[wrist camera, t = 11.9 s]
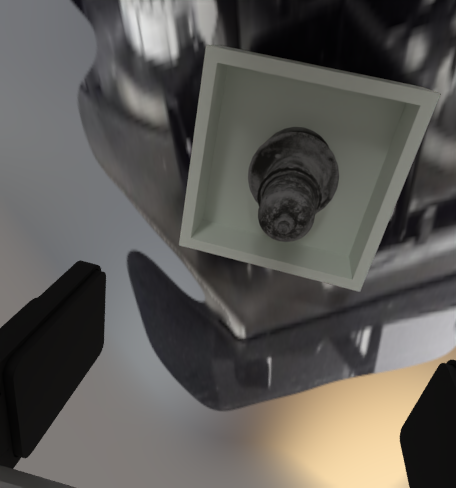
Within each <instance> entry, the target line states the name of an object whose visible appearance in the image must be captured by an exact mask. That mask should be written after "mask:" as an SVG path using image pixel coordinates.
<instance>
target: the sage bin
mask: <svg viewBox="0 0 456 488" xmlns="http://www.w3.org/2000/svg"><path fill="white" fill-rule="evenodd" d="M440 95H441V94H440V93H438V92H435V91H432V90H429V89H427V88H424V87H420V86H415V85H411V84H406V83H401V82H396V81H391V80H386V79H382V78H377V77H372V76H367V75H362V74H357V73H352V72H348V71H343V70H338V69H333V68H328V67H323V66H318V65H314V64H309V63H304V62H299V61H294V60H289V59H285V58H280V57H275V56H270V55H265V54H260V53H255V52H251V51H246V50H241V49H236V48H231V47H226V46H219V45H206V50H205V57H204V65H203V72H202V79H201V87H200V94H199V101H198V109H197V116H196V124H195V131H194V138H193V146H192V153H191V160H190V168H189V175H188V183H187V190H186V197H185V205H184V212H183V220H182V227H181V234H180V242H179V245H180V246H184V247H188V248H192V249H196V250H200V251H203V252H207V253H211V254H215V255H219V256H223V257H227V258H231V259H234V260H238V261H242V262H246V263H250V264H254V265H258V266H262V267H265V268H269V269H273V270H277V271H281V272H285V273H289V274H293V275H297V276H300V277H304V278H308V279H312V280H316V281H320V282H324V283H328V284H331V285H335V286H339V287H343V288H347V289H351V290H355V291H359V292H360V291H361V288H362V286H363V283H364V281H365V278H366V276H367V273H368V271H369V268H370V266H371V264H372V261H373V259H374V256H375V254H376V251H377V249H378V246H379V244H380V242H381V239H382V237H383V234H384V232H385V229H386V227H387V224H388V222H389V220H390V217H391V215H392V212H393V210H394V207H395V205H396V202H397V200H398V198H399V195H400V193H401V190H402V188H403V185H404V183H405V180H406V178H407V176H408V173H409V171H410V168H411V166H412V163H413V161H414V158H415V156H416V153H417V151H418V149H419V146H420V144H421V141H422V139H423V136H424V134H425V131H426V129H427V127H428V124H429V122H430V119H431V117H432V114H433V112H434V109H435V107H436V105H437V102H438V100H439V97H440ZM291 127H303V128H307V129H310V130H312V131H314V132H316V133H317V134H319V135H320V136H321V137H322V138H323V139H324V140H325V142H326V143H327V144H328V146H329V149H330V150H331V151H332V152H333V154H334V156H335V159H336V161H337V164H338V169H339V181H338V187H337V190H336V192H335V194H334V196H333V198H332V200H331V201H330V202H329V203H328V204H327V206H326V207H325V208H324V209H322V210H321V211H319V212H318V213H316V214H315V219H314V223H313V226H312V228H311V229H310V231H309V232H308V233H307V234H306V235H305V236H304V237H302V238H301V239H299V240H296V241H292V242H281V241H277V240H274V239H272V238H270V237H269V236H267V235H266V234H265V232H264V231H263V230H262V228H261V226H260V224H259V220H258V209H259V205H258V203H257V202H256V201H255V199H254V197H253V195H252V193H251V191H250V188H249V183H248V169H249V165H250V163H251V160H252V157H253V155H254V154H255V153H256V151H257V150H258V148H259V147H260V146H261V145H262V144H263V143H265V142H266V141H267V140H268V139H269V138H270V137H271V136H273V135H274V134H275V133H277V132H279V131H281V130H283V129H285V128H291Z"/></svg>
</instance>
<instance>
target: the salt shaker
mask: <svg viewBox="0 0 456 488" xmlns="http://www.w3.org/2000/svg"><path fill="white" fill-rule="evenodd" d="M338 181H339V169H338V164H337V161H336V159H335V156H334V154H333V152H332V151H331V150H330V149H329V146H328V144H327V143H326V142H325V140H324V139H323V138H322V137H321V136H320V135H319V134H317V133H316V132H314V131H312V130H310V129H307V128H303V127H291V128H285V129H283V130H281V131H279V132H277V133H275V134H274V135H273V136H271V137H270V138H269V139H268V140H267V141H266V142H265V143H263V144H262V145H261V146H260V147H259V148H258V150H257V151H256V153H255V154H254V155H253V157H252V160H251V163H250V165H249V169H248V183H249V188H250V191H251V193H252V195H253V197H254V199H255V201H256V202H257V203H258V205H259V209H258V220H259V224H260V226H261V228H262V230H263V231H264V232H265V234H266V235H267V236H269V237H270V238H272V239H274V240H277V241H281V242H292V241H296V240H299V239H301V238H302V237H304V236H305V235H306V234H307V233H308V232H309V231H310V229H311V228H312V226H313V223H314V219H315V214H316V213H318V212H319V211H321V210H322V209H324V208H325V207H326V206H327V204H328V203H329V202H330V201H331V200H332V198H333V196H334V194H335V192H336V190H337V187H338Z"/></svg>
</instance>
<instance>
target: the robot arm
mask: <svg viewBox="0 0 456 488" xmlns="http://www.w3.org/2000/svg"><path fill="white" fill-rule="evenodd" d="M105 288H106V274H105V272H101V268H100V266H98V265H95V264H92V263H88V262H84V261H78V262H76V263H75V264H74V265H73V266H72V267H71V268H70V269H69V270H68V271H67V272H65V273H64V274H63V275H62V276H61V277H60V278H59V279H58V280H57V281H56V282H55V283H54V284H52V285H51V286H50V287H49V288H48V289H47V290H46V291H45V292H44V293H43V294H42V295H40V296H39V297H38V298H34V299H33V300H31V301H30V302H29V303H28V304H27V305H25V306H24V307H23V308H22V309H21V310H20V311H19V312H18V313H17V314H15V315H14V316H13V317H12V318H11V319H10V320H9V321H8V322H7V323H6V324H4V325H3V326H2V327H1V328H0V488H75V487H71V486H69V485H65V484H62V483H59V482H55V481H51V480H48V479H45V478H42V477H38V476H35V475H32V474H28V473H25V472H21V471H18V470H15V469H13V468H14V467H15V465H16V464H17V463H18V461H19V460H20V458H21V457H22V458H27V457H28V456H29V455H30V454H31V453H32V451H33V450H34V449H35V447H36V446H37V444H38V443H39V441H40V440H41V439H42V437H43V435H44V434H45V433H46V431H47V430H48V428H49V427H50V426H51V424H52V423H53V421H54V420H55V418H56V417H57V415H58V414H59V412H60V411H61V410H62V408H63V407H64V405H65V404H66V402H67V401H68V399H69V398H70V396H71V395H72V394H73V392H74V391H75V390H76V388H77V386H78V385H79V384H80V382H81V381H82V379H83V378H84V377H85V375H86V373H87V372H88V371H89V369H90V368H91V366H92V365H93V363H94V362H95V361H96V359H97V357H98V356H99V355H100V353H101V351H102V348H103V344H104V322H105V319H104V318H105ZM400 444H401V448H402V453H403V458H404V463H405V467H406V472H407V477H408V482H409V487H410V488H456V360H449V361H448V362H447V363H441V364H440V365H439V366H438V368H437V370H436V371H435V373H434V375H433V376H432V378H431V380H430V381H429V383H428V385H427V386H426V388H425V390H424V391H423V393H422V395H421V396H420V398H419V400H418V402H417V403H416V405H415V406H414V408H413V410H412V411H411V413H410V415H409V416H408V418H407V420H406V421H405V423H404V425H403V426H402V429H401V433H400Z"/></svg>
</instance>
